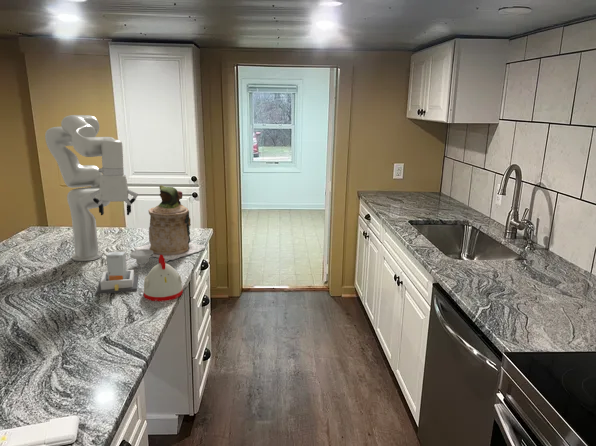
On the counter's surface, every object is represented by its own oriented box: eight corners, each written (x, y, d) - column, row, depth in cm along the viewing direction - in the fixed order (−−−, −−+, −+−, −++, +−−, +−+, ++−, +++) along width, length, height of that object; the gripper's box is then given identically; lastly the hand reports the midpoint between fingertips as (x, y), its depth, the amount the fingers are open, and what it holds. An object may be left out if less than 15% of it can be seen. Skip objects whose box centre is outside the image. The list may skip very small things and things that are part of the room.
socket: (100, 279, 174) (100, 270, 173) (138, 277, 178) (137, 267, 177) (96, 294, 160) (95, 284, 159) (136, 291, 164) (136, 281, 163)
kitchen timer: (147, 304, 154) (144, 263, 151) (141, 289, 166) (138, 252, 162) (186, 297, 161) (185, 258, 157) (178, 284, 172) (176, 247, 169)
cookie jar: (168, 263, 195) (165, 192, 187) (132, 252, 208) (127, 185, 200) (207, 249, 216) (206, 185, 208) (172, 240, 228) (169, 179, 220)
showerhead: (136, 246, 194) (157, 248, 192) (137, 261, 195) (158, 263, 194) (124, 252, 185) (145, 254, 183) (125, 268, 186) (146, 271, 185)
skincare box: (108, 285, 167) (105, 255, 164) (111, 280, 171) (109, 251, 168) (124, 284, 167) (122, 255, 164) (127, 280, 171) (125, 251, 168)
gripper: (87, 173, 164) (90, 217, 169) (136, 174, 169) (137, 216, 174) (90, 169, 171) (93, 212, 176) (137, 170, 176) (139, 211, 181)
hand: (115, 214), depth 175 cm, fingers open, 9 cm apart
